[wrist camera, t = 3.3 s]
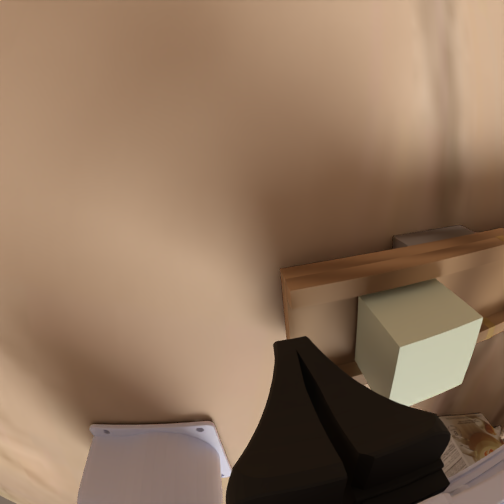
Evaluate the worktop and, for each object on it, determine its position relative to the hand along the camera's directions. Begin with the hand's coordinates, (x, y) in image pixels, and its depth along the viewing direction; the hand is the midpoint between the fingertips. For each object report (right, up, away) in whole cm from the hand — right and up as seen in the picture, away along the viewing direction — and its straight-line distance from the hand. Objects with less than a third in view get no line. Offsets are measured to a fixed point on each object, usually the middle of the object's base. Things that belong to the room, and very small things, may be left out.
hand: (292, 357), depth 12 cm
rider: (+5, +1, +1) cm, 5 cm away
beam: (+9, +3, +4) cm, 10 cm away
